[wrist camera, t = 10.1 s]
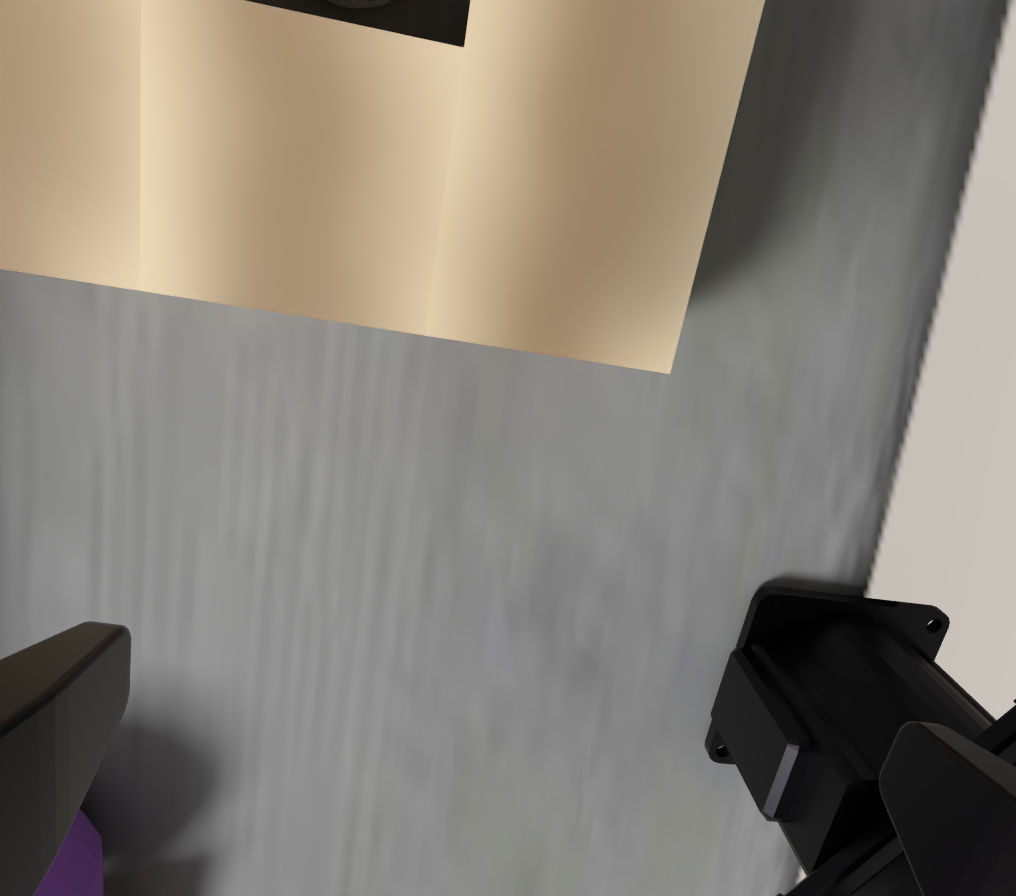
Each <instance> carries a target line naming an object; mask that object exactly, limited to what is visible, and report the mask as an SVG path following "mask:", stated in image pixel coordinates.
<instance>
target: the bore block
mask: <svg viewBox="0 0 1016 896" xmlns="http://www.w3.org/2000/svg"><path fill="white" fill-rule="evenodd" d="M764 3H765V0H470V7H469V15H468V22H467V29H466V37H465V44H464V47H459V46H454V45H450V44H445V43H440V42H436V41H431V40H426V39H422V38H417V37H412V36H408V35H403V34H399V33H394V32H389V31H385V30H380V29H375V28H371V27H366V26H361V25H357V24H352V23H347V22H343V21H338V20H334V19H329V18H324V17H320V16H315V15H310V14H306V13H301V12H296V11H292V10H287V9H282V8H278V7H273V6H268V5H264V4H259V3H255V2H250V1H245V0H0V269H5V270H11V271H18V272H24V273H30V274H37V275H43V276H49V277H56V278H62V279H69V280H75V281H81V282H88V283H94V284H100V285H107V286H113V287H119V288H126V289H132V290H139V291H145V292H151V293H158V294H164V295H170V296H177V297H183V298H190V299H196V300H202V301H209V302H215V303H221V304H228V305H234V306H240V307H247V308H253V309H260V310H266V311H272V312H279V313H285V314H291V315H298V316H304V317H310V318H317V319H323V320H330V321H336V322H342V323H349V324H355V325H361V326H368V327H374V328H380V329H387V330H393V331H400V332H406V333H412V334H419V335H425V336H431V337H438V338H444V339H450V340H457V341H463V342H470V343H476V344H482V345H489V346H495V347H501V348H508V349H514V350H520V351H527V352H533V353H540V354H546V355H552V356H559V357H565V358H571V359H578V360H584V361H591V362H597V363H603V364H610V365H616V366H622V367H629V368H635V369H641V370H648V371H654V372H661V373H667V374H670V372H671V368H672V364H673V360H674V356H675V352H676V348H677V344H678V340H679V336H680V332H681V328H682V325H683V321H684V317H685V313H686V309H687V305H688V301H689V297H690V293H691V289H692V285H693V281H694V277H695V274H696V270H697V266H698V262H699V258H700V254H701V250H702V246H703V242H704V238H705V234H706V230H707V226H708V222H709V219H710V215H711V211H712V207H713V203H714V199H715V195H716V191H717V187H718V183H719V179H720V175H721V171H722V168H723V164H724V160H725V156H726V152H727V148H728V144H729V140H730V136H731V132H732V128H733V124H734V120H735V117H736V113H737V109H738V105H739V101H740V97H741V93H742V89H743V85H744V81H745V77H746V73H747V69H748V65H749V62H750V58H751V54H752V50H753V46H754V42H755V38H756V34H757V30H758V26H759V22H760V18H761V14H762V11H763V7H764Z"/></svg>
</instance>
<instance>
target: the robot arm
mask: <svg viewBox="0 0 1016 896" xmlns="http://www.w3.org/2000/svg"><path fill="white" fill-rule="evenodd" d="M770 601H775V602H774V603H773V605H772V606H770V607H769V608H764V607H765V605H766V604H767V603H768V602H770ZM931 620H933V621H932V622H931V623H930V624H929V625H928V623H929V622H930V621H931ZM949 623H950V622H949V617H947V615H946V614H945V613H943V612H942V611H941V610H940V609H938V608H937V607H935V606H932V605H924V604H915V603H906V602H897V601H889V600H880V599H872V598H863V597H854V596H846V595H837V594H828V593H820V592H811V591H803V590H794V589H785V588H777V587H765V588H762V589H760V590H759V591H757V592H756V593H755V594H754V596H753V598H752V600H751V603H750V606H749V609H748V612H747V615H746V618H745V621H744V624H743V627H742V630H741V633H740V636H739V639H738V642H737V645H736V648H735V649H734V650H733V651H732V652H731V654H730V656H729V660H728V663H727V666H726V669H725V672H724V675H723V678H722V681H721V684H720V687H719V690H718V693H717V696H716V699H715V702H714V705H713V709H712V712H711V717H712V721H711V725H710V728H709V731H708V734H707V737H706V740H705V748H706V750H707V752H708V754H709V757H710V759H711V760H713V761H714V762H717V763H724V764H736V766H737V768H738V770H739V772H740V774H741V776H742V777H743V779H744V781H745V783H746V785H747V787H748V789H749V791H750V793H751V795H752V797H753V799H754V801H755V803H756V805H757V807H758V809H759V811H760V812H761V813H762V815H763V816H764V817H765V818H766V820H767V821H775V822H778V823H779V825H780V827H781V829H782V831H783V833H784V835H785V836H786V838H787V840H788V842H789V844H790V846H791V848H792V850H793V851H794V853H795V855H796V857H797V859H798V861H799V863H800V865H801V866H802V868H803V870H804V872H805V874H806V876H807V877H805V878H804V879H803V880H802V881H800V882H799V883H798V884H797V885H796V886H794V887H793V888H792V889H791V890H789V891H788V892H787V893H786V894H785V895H782V894H780V893H779V894H778V895H777V896H1016V705H1015V706H1014V707H1013V708H1011V709H1010V710H1009V711H1008V712H1007V713H1005V714H1004V715H1003V716H1002V717H1000V718H999V719H998V720H996V719H994V717H992V716H991V715H990V714H989V713H988V712H987V711H986V710H985V709H984V708H983V707H982V706H981V705H980V704H979V703H978V702H977V701H976V700H974V699H973V698H972V697H971V696H970V695H969V694H968V693H967V692H966V691H965V690H964V689H963V688H962V687H961V686H960V685H959V684H958V683H957V682H955V681H954V680H953V679H952V678H951V677H950V676H949V675H948V674H947V673H946V672H945V671H944V670H943V669H942V668H941V667H940V666H939V665H937V664H936V663H935V662H934V660H935V657H936V655H937V653H938V650H939V648H940V646H941V644H942V641H943V639H944V637H945V634H946V632H947V630H948V628H949ZM130 662H131V635H130V632H129V630H128V629H127V628H126V627H125V626H123V625H117V624H109V623H100V622H91V621H90V622H84V623H82V624H79V625H77V626H75V627H72V628H70V629H68V630H66V631H63V632H61V633H59V634H57V635H55V636H52V637H50V638H48V639H46V640H43V641H41V642H39V643H37V644H34V645H32V646H30V647H28V648H25V649H23V650H21V651H19V652H17V653H14V654H12V655H10V656H8V657H5V658H3V659H1V660H0V896H34V894H35V892H36V891H37V889H38V887H39V886H40V884H41V882H42V881H43V879H44V877H45V875H46V874H47V872H48V870H49V868H50V867H51V865H52V863H53V861H54V859H55V858H56V856H57V854H58V852H59V850H60V848H61V846H62V844H63V842H64V840H65V838H66V836H67V834H68V832H69V830H70V827H71V825H72V823H73V821H74V819H75V817H76V815H77V812H78V810H79V808H80V806H81V804H82V802H83V800H84V798H85V795H86V793H87V791H88V789H89V787H90V785H91V783H92V780H93V778H94V776H95V774H96V772H97V770H98V768H99V765H100V763H101V761H102V759H103V757H104V755H105V753H106V751H107V748H108V746H109V744H110V742H111V740H112V738H113V736H114V733H115V731H116V729H117V727H118V725H119V723H120V721H121V719H122V716H123V714H124V711H125V709H126V706H127V702H128V698H129V691H130ZM1014 702H1015V703H1016V699H1015V700H1014ZM722 745H725V746H723V747H722V748H718V747H720V746H722Z"/></svg>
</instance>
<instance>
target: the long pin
mask: <svg viewBox="0 0 1016 896" xmlns="http://www.w3.org/2000/svg"><path fill="white" fill-rule="evenodd" d="M327 1H329V2H331V3H333V4H336V5H339V6H343V7H346V8H353V9H368V8H375V7H379V6H382V5H385V4H387V3H389V2H391V1H393V0H327Z"/></svg>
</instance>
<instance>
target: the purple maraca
mask: <svg viewBox="0 0 1016 896" xmlns="http://www.w3.org/2000/svg"><path fill="white" fill-rule="evenodd" d="M103 871H104V870H103V853H102V837H101V835H100V834H99V833H98V831H97V830H96V829H95V828H94V826H93V825H92V824H91V822H90V821H89V820H88V818H87V817H86V816H85V814H84V813H83V812H82V810H81V809H80V808H79V810H78V812H77V815H76V817H75V819H74V821H73V823H72V825H71V827H70V830H69V832H68V834H67V836H66V838H65V840H64V842H63V844H62V846H61V848H60V850H59V852H58V854H57V856H56V858H55V859H54V861H53V863H52V865H51V867H50V868H49V870H48V872H47V874H46V875H45V877H44V879H43V881H42V882H41V884H40V886H39V887H38V889H37V891H36V892H35V894H34V896H103Z"/></svg>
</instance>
